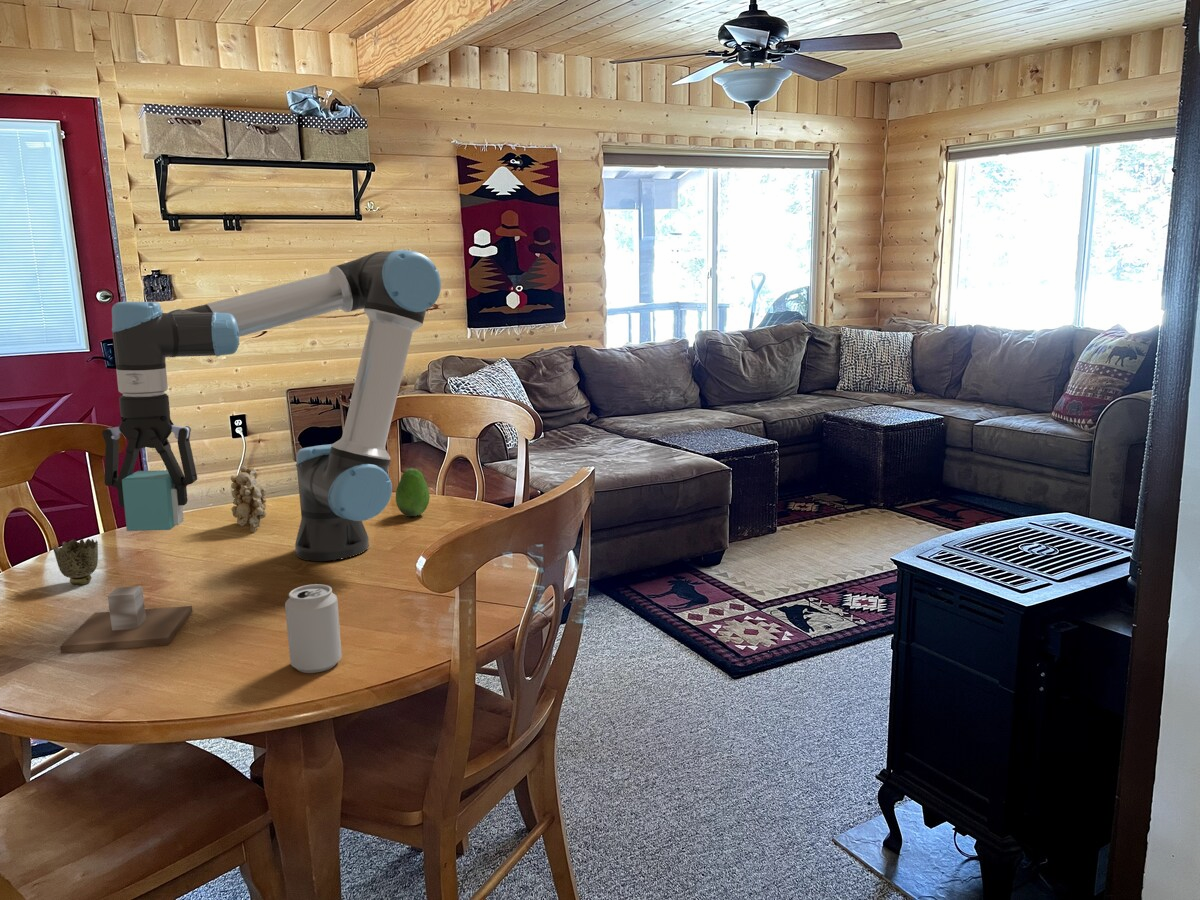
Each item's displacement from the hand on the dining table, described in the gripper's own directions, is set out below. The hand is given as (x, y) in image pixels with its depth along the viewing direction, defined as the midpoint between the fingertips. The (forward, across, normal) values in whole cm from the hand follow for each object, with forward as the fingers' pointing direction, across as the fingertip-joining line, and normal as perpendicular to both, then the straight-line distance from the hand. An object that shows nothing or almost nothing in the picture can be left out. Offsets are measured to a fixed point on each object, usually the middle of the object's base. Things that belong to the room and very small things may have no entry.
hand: (155, 523), depth 153 cm
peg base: (+16, -2, -9) cm, 19 cm away
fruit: (+14, +40, +54) cm, 69 cm away
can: (+16, +31, -27) cm, 44 cm away
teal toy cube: (0, 0, 0) cm, 0 cm away
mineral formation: (+15, +3, +51) cm, 53 cm away
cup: (+16, -21, +17) cm, 32 cm away
